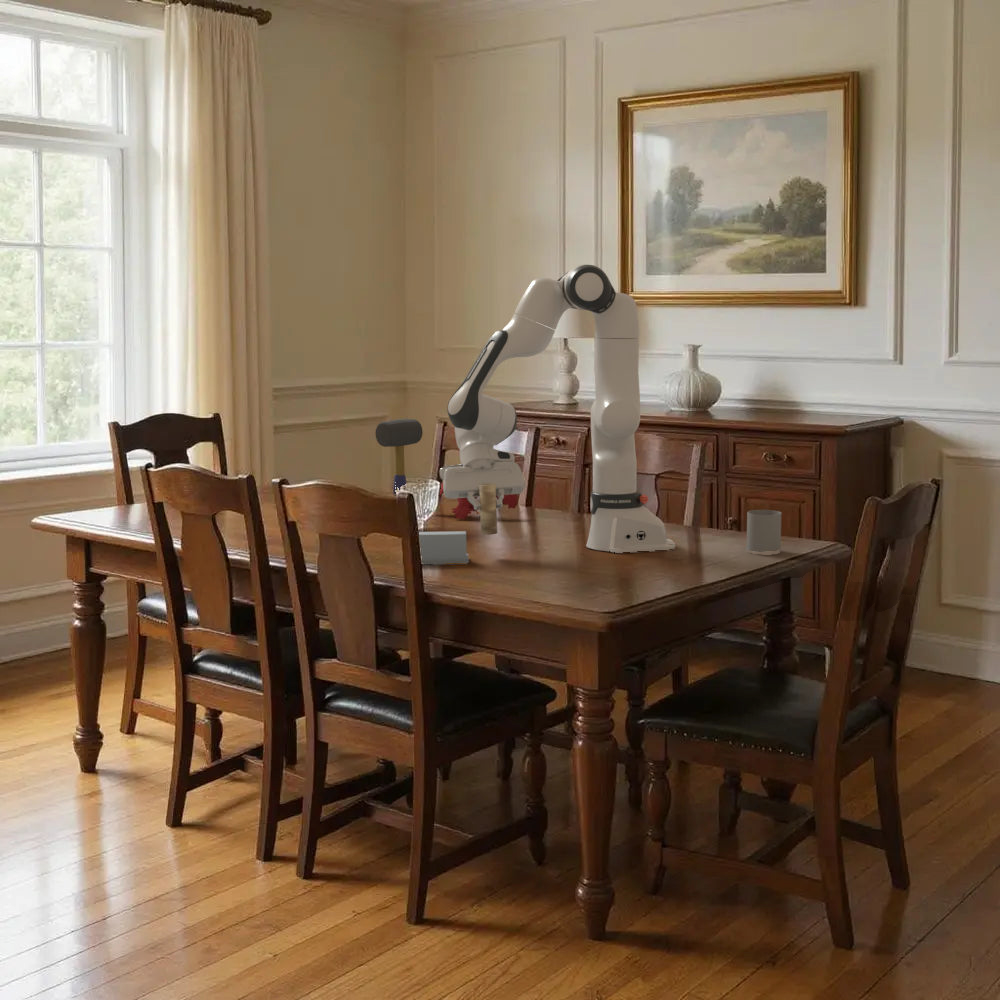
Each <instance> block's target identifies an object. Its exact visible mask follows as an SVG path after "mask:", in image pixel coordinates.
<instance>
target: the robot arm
mask: <svg viewBox="0 0 1000 1000" xmlns="http://www.w3.org/2000/svg"><path fill="white" fill-rule="evenodd" d="M568 309H575V310H579V311H589V312H590V313H591V314H592V316H593V318H594V353H593V355H594V356H593V358H594V359H593V360H594V361H593V363H594V364H593V372H594V386H595V387H594V389H595V390H594V391H595V392H594V393H595V399H594V401H593V403H592V404H591V407H590V433H591V434H590V435H591V437H590V438H591V454H592V491H591V492H590V500H589V501H590V512H591V518H590V519H591V520H590V528H589V532H588V533H589V534H588V537H587V542H586V545H585V546H586V548H588V549H592V550H595V551H602V552H603V551H604V552H609V551H610V552H611V553H614V552H615V554H624V553H623V552H630V553H638V552H637V551H649V552H656V551H655V550H667V551H669V550H668V549H673V548H675V549H676V543H675V542H674V541H673V540H672V539H670V538H668V537H667V530H666V526H665V524H664V522H663V521H662V519H660V518H659V517H658V516H656V514H654V513H653V512H652V511H650V510H649V509H648V508H647V507H646V506H644V505H645V504H647V503H648V502H649V497H648V496H647V495H646V494H642V493H640V492H639V491H637V473H638V472H637V465H638V464H637V462H638V461H637V460H638V459H637V454H636V440H635V432H636V431H637V430H638V428H639V426H640V423H641V397H640V396H641V395H640V394H641V392H640V390H641V389H640V377H639V359H640V358H639V357H640V355H639V353H640V325H639V324H640V322H639V314H638V307H637V302H636V301H635V299H634V298H633V297H632V296H630V295H629V294H626V293H624V292H616V290H615V288H614V286H613V285H612V282H611V281H610V278H609V277H608V275H607V274H606V272H605V271H604V270H603V269H601V267H598V266H596V265H592V264H585V263H584V264H578V265H577V266H574V267H573V268H571V269H570V270H568V271H567V272H565V273H564V275H562V276H560V278H558V279H557V280H555V279H552V278H549V277H538V278H535V279H534V280H532V281H531V282H530V283H529V285H528V287H527V288H526V290H525V292H524V293H523V294H522V297H521V298H520V300H519V303H518V304H517V306H516V308H515V311H514V313H513V315H512V317H511V319H510V320H509V321H508V323H507V324H506V325H505V326H504V328H502V329H501V330H497V331H495V332H494V333H493V334H492V335H491V336H490V337H489V339H488V340H487V342H486V344H485V345H484V346H483V349H482V350H481V351H480V353H479V354H478V356H477V358H476V360H475V361H474V363H473V365H472V366H471V368H470V370H469V371H468V373H467V375H466V376H465V378H464V380H463V381H462V383H461V384H460V385H459V387H458V388H456V390H455V392H454V393H453V394H452V396H451V397H450V399H449V400H448V403H447V407H446V408H447V409H446V411H447V415H448V418H449V420H450V422H451V424H452V425H453V427H454V437H455V441H456V446H457V448H458V449H459V460H460V463H459V464H451V465H450V464H449V465H448V464H446V465H444V466H442V467H441V468H440V469H439V471H438V473H439V478H440V479H441V480H442V481H443V482H442V483H443V491H444V493H443V495H444V497H445V498H446V499H447V500H450V499H457V498H467V499H468V501H469V502H470V503H471V504H472V505H474V510H477V511H480V510H481V504H480V499H479V500H477V498H480V495H479V485H481V484H495V486H496V495H498V497H497V498H496V509H502V508H503V504H504V502H503V501H502V500H503V498H504V495H509V494H517V495H518V494H519V495H520V494H522V493H523V491H524V490H525V487H526V482H525V477H524V475H523V471H522V469H521V467H520V466H519V463H516V462H515V454H514V453H513V452H508V451H505V450H504V451H503V450H499V449H495V448H494V446H497V445H499V444H500V443H502V442H503V441H505V440H506V439H507V438H509V437H511V435H513V433H514V432H515V431H516V428H517V425H518V414H517V411H516V408H515V407H514V405H513V404H511V403H509V402H506V401H504V400H501V399H498V398H495V397H492V396H490V395H487V394H485V393H484V390H485V388H486V387H487V385H488V383H489V381H490V380H491V378H492V376H493V375H494V374H495V371H496V370H497V368H498V367H499V365H501V364H502V363H503V362H505V361H506V360H507V361H508V360H510V359H514V358H528V357H529V358H530V357H533V356H534V357H535V356H536V355H539V354H541V353H542V352H544V351H545V350H546V349H547V348H548V346H549V345H550V343H551V341H552V339H553V336H554V335H555V332H556V329H557V327H558V324H559V322H560V319H561V318H562V316H563V315H564V314H565V312H566V311H567V310H568ZM474 497H477V498H476V499H475V498H474ZM673 550H674V549H673Z"/></svg>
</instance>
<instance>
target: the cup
mask: <svg viewBox="0 0 1000 1000" xmlns="http://www.w3.org/2000/svg"><path fill="white" fill-rule="evenodd" d="M746 516H747V517H746V519H747V520H746V551H747V550H749V551H756V552H757V551H758V552H762V551H763V552H764V551H777V550H779V549H780V550H781V544H782V543H781V541H782V537H781V536H782V511H780V510H779V511H778V510H772V509H771V510H769V509H754V510H753V509H752V510H748V511H747V514H746Z"/></svg>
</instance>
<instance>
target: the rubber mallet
mask: <svg viewBox="0 0 1000 1000" xmlns="http://www.w3.org/2000/svg"><path fill="white" fill-rule="evenodd" d="M374 433H375V438H376V441H377V443H378V444H379V445H380V446H382V447H385V448H387V447H389V448H391V447H392V448H393V447H394V452H395V453H394V461H395V462H394V463H395V466H394V467H395V468H394V470H395V471H394V478H393V487H392V488H393V491H392V492H393V495H394V494H396V492H395V490H397V487H398V488H399V490H400V487H401V486H402V485H405V484H407V477H406V474H405V473H406V471H405V469H406V468H405V446H408V445H414V444H417V443H419V442H420V441H421V440H422V438H423V427H422V424H421V423H420V421H418V420H417V419H415V418H399V419H397V418H396V419H392V420H386V421H381V422H379V423H378V425H377V426H376V429H375V432H374ZM395 482H396V483H395ZM395 485H396V486H395ZM395 487H396V489H395Z"/></svg>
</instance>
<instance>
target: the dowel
mask: <svg viewBox="0 0 1000 1000" xmlns="http://www.w3.org/2000/svg"><path fill="white" fill-rule="evenodd" d="M479 495H480V497H479V500H480V504H481V510H479V514H480V516H479V517H480V519H479V520H480V534H481V535H485V536H487V535H488V536H489V535H490V536H491V535H496V534H498V516H497V512H498V511H497V508H496V499H497V498H496V486H495V484H481V485H479Z"/></svg>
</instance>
